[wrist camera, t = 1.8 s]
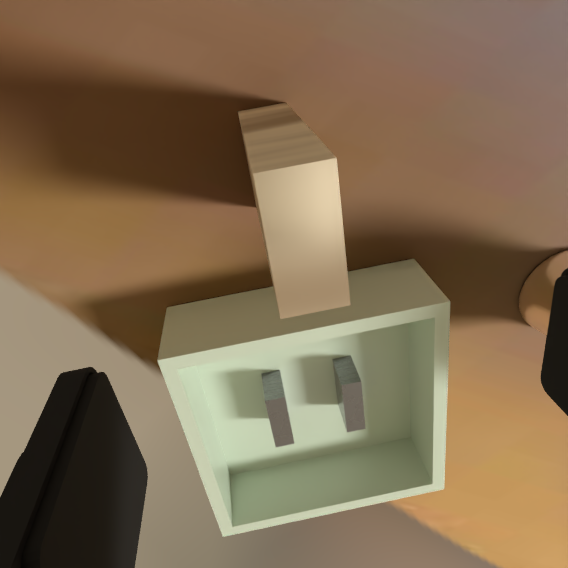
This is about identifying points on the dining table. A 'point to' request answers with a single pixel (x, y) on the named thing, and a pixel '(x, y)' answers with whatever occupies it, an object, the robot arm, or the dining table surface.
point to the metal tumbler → (541, 291)
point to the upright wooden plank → (297, 210)
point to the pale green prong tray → (312, 397)
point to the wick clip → (346, 396)
